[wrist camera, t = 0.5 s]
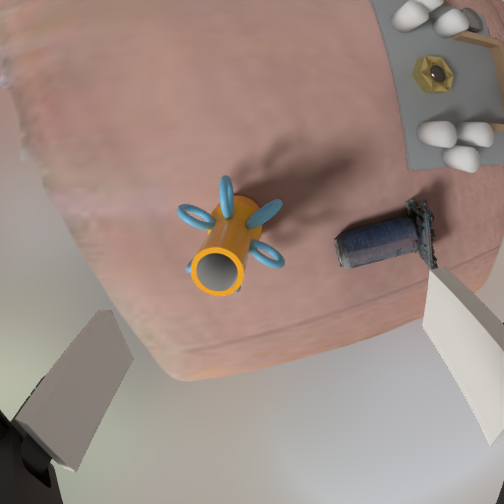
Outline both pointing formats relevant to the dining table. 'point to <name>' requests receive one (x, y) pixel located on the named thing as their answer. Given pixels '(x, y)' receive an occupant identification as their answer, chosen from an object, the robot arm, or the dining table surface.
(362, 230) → the dark piece
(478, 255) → the dining table surface
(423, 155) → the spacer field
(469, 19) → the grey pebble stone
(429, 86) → the nut
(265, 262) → the cylinder
